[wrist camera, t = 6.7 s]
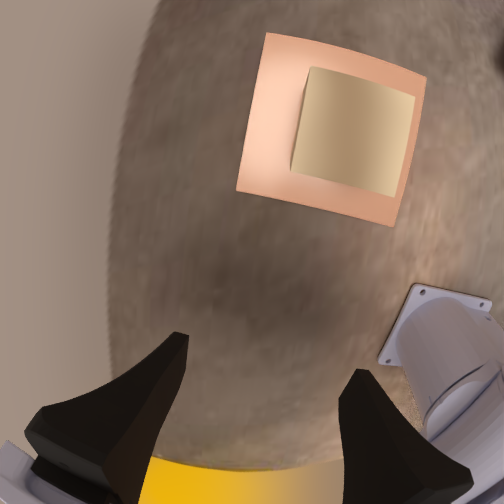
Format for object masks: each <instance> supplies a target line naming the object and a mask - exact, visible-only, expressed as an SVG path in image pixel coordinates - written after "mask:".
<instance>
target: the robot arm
mask: <svg viewBox="0 0 504 504" xmlns="http://www.w3.org/2000/svg"><path fill="white" fill-rule="evenodd" d="M421 290H424V291H423V292H422V293H420V292H421ZM480 303H481V304H480ZM491 306H492V302H491V301H490V300H489V299H485V298H480V297H476V296H471V295H467V294H463V293H458V292H454V291H449V290H445V289H440V288H436V287H432V286H427V285H423V284H414V285H413V286H412V288H411V290H410V292H409V294H408V297H407V299H406V301H405V304H404V306H403V308H402V310H401V312H400V315H399V317H398V319H397V321H396V323H395V325H394V327H393V329H392V331H391V333H390V335H389V337H388V339H387V341H386V343H385V345H384V347H383V349H382V351H381V353H380V355H379V356H378V359H377V360H378V363H379V364H381V365H390V366H400V367H403V369H404V372H405V375H406V377H407V380H408V383H409V385H410V388H411V391H412V394H413V397H414V399H415V402H416V405H417V408H418V411H419V414H420V417H421V420H422V423H423V429H422V430H421V431H420V432H418V431H417V430H416V429H415V428H414V427H413V426H412V425H411V424H410V423H409V422H408V421H407V420H406V418H405V417H404V416H403V415H402V414H401V413H400V411H399V410H398V409H397V408H396V406H395V405H394V404H393V402H392V401H391V400H390V398H389V397H388V396H387V394H386V393H385V391H384V390H383V389H382V387H381V386H380V384H379V383H378V382H377V380H376V379H375V378H374V376H373V375H372V374H371V372H370V371H369V370H364V369H356V370H355V372H354V374H353V375H352V377H351V379H350V380H349V382H348V384H347V385H346V387H345V389H344V390H343V392H342V394H341V395H340V397H339V408H338V411H339V425H340V433H341V441H342V448H343V456H344V492H343V503H342V504H504V330H503V329H502V327H501V326H500V325H499V324H498V323H497V322H496V320H495V319H494V318H493V317H492V316H491V315H490V313H489V311H490V309H491ZM188 342H189V335H186V334H182V333H179V332H173V333H172V334H171V335H170V336H169V337H168V338H167V339H166V340H165V341H164V342H163V343H162V344H161V345H159V346H158V347H157V348H156V349H155V350H154V351H153V352H152V353H150V354H149V355H148V356H147V357H146V358H144V359H143V360H142V361H141V362H139V363H138V364H137V365H135V366H134V367H132V368H131V369H130V370H128V371H127V372H125V373H124V374H122V375H121V376H119V377H118V378H116V379H114V380H113V381H111V382H109V383H107V384H105V385H103V386H101V387H99V388H98V389H95V390H93V391H91V392H89V393H86V394H84V395H81V396H78V397H76V398H73V399H70V400H67V401H64V402H60V403H56V404H52V405H48V406H44V407H42V408H41V409H40V410H39V411H38V412H37V413H36V414H35V416H34V417H33V419H32V420H31V421H30V423H29V424H28V426H27V427H26V429H25V430H24V433H25V437H26V438H27V440H28V442H29V443H30V444H31V446H32V447H33V448H34V450H35V451H36V452H37V454H38V457H37V458H36V460H34V459H33V458H32V457H31V456H30V455H28V454H27V453H25V452H24V451H23V450H21V449H20V448H18V447H17V446H15V445H14V444H13V443H11V442H10V441H7V440H6V441H5V443H4V445H3V446H2V448H1V449H0V499H1V500H2V501H3V502H4V503H6V504H138V501H139V498H140V494H141V490H142V486H143V482H144V479H145V475H146V472H147V468H148V465H149V462H150V458H151V455H152V452H153V449H154V446H155V443H156V440H157V437H158V434H159V432H160V429H161V427H162V425H163V423H164V421H165V418H166V416H167V414H168V412H169V410H170V408H171V406H172V403H173V401H174V399H175V397H176V395H177V393H178V390H179V388H180V385H181V382H182V379H183V376H184V373H185V369H186V360H187V351H188ZM388 359H389V360H388ZM386 360H387V361H386Z"/></svg>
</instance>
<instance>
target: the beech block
mask: <svg viewBox="0 0 504 504" xmlns="http://www.w3.org/2000/svg"><path fill="white" fill-rule="evenodd" d="M414 103H415V97H414V96H412V95H409V94H407V93H404V92H401V91H398V90H396V89H393V88H390V87H387V86H384V85H381V84H378V83H375V82H372V81H369V80H365V79H362V78H359V77H355V76H352V75H348V74H344V73H341V72H337V71H333V70H329V69H324V68H320V67H316V66H310V69H309V73H308V76H307V80H306V83H305V86H304V90H303V96H302V101H301V106H300V112H299V117H298V122H297V127H296V133H295V138H294V143H293V148H292V153H291V158H290V172H294V173H299V174H303V175H308V176H312V177H317V178H321V179H325V180H330V181H334V182H338V183H342V184H346V185H350V186H354V187H357V188H361V189H365V190H369V191H372V192H376V193H380V194H383V195H387V196H390V197H393V198H394V197H395V193H396V190H397V186H398V182H399V178H400V173H401V169H402V165H403V161H404V156H405V151H406V147H407V142H408V137H409V132H410V126H411V121H412V115H413V109H414Z"/></svg>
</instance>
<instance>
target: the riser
mask: <svg viewBox="0 0 504 504" xmlns="http://www.w3.org/2000/svg"><path fill="white" fill-rule="evenodd" d="M310 66H316V67H320V68H324V69H329V70H333V71H337V72H341V73H344V74H348V75H352V76H355V77H359V78H362V79H365V80H369V81H372V82H375V83H378V84H381V85H384V86H387V87H390V88H393V89H396V90H398V91H401V92H404V93H407V94H409V95H412V96H414V97H415V103H414V109H413V115H412V121H411V126H410V132H409V137H408V142H407V147H406V151H405V156H404V161H403V165H402V169H401V173H400V178H399V182H398V186H397V190H396V193H395V197H394V198H393V197H390V196H387V195H383V194H380V193H376V192H372V191H369V190H365V189H361V188H357V187H354V186H350V185H346V184H342V183H338V182H334V181H330V180H325V179H321V178H317V177H312V176H308V175H303V174H299V173H294V172H290V158H291V153H292V148H293V143H294V138H295V133H296V127H297V122H298V117H299V112H300V106H301V101H302V96H303V90H304V86H305V83H306V80H307V76H308V73H309V69H310ZM425 86H426V77H424V76H422V75H419V74H417V73H415V72H412V71H410V70H407V69H405V68H402V67H400V66H397V65H394V64H392V63H389V62H386V61H383V60H380V59H377V58H374V57H371V56H368V55H365V54H362V53H358V52H355V51H352V50H348V49H345V48H341V47H337V46H333V45H329V44H325V43H321V42H316V41H312V40H307V39H302V38H297V37H291V36H286V35H280V34H273V33H266V38H265V43H264V47H263V52H262V57H261V62H260V66H259V71H258V76H257V81H256V86H255V91H254V96H253V101H252V106H251V111H250V117H249V122H248V127H247V132H246V138H245V143H244V148H243V154H242V159H241V165H240V170H239V176H238V182H237V187H236V191H241V192H246V193H251V194H256V195H261V196H266V197H271V198H275V199H280V200H285V201H289V202H294V203H298V204H302V205H307V206H311V207H315V208H320V209H324V210H328V211H332V212H336V213H340V214H344V215H348V216H352V217H356V218H360V219H364V220H368V221H372V222H375V223H379V224H383V225H386V226H390V227H394V223H395V220H396V217H397V214H398V210H399V207H400V203H401V200H402V196H403V192H404V189H405V185H406V181H407V177H408V173H409V169H410V165H411V161H412V156H413V152H414V147H415V143H416V138H417V133H418V128H419V123H420V117H421V112H422V106H423V99H424V93H425Z"/></svg>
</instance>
